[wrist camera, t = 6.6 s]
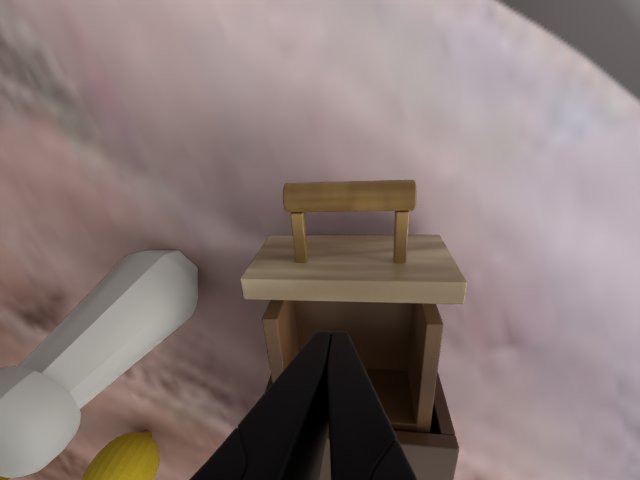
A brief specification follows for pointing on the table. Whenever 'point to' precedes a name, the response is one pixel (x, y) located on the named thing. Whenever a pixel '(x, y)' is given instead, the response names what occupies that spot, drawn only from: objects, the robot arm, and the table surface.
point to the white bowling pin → (90, 354)
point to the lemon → (126, 459)
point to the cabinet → (420, 444)
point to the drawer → (360, 292)
